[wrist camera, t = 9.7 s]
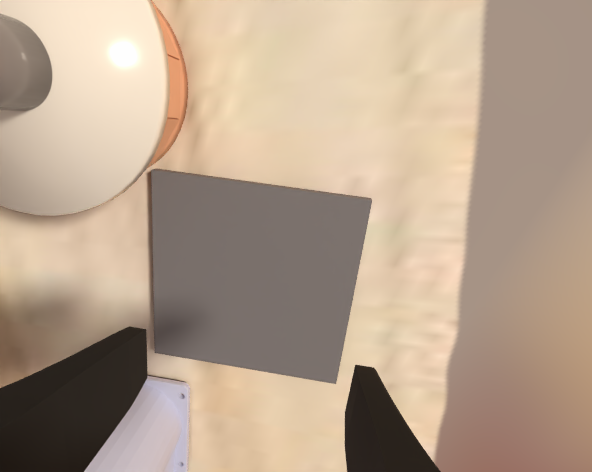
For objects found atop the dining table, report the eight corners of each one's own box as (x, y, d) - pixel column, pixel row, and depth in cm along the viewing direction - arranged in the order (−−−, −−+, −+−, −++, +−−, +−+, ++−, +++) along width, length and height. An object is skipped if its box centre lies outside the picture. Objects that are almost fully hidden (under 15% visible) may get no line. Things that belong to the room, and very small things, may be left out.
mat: (335, 377, 23) (335, 384, 23) (158, 347, 24) (154, 352, 24) (370, 198, 19) (372, 200, 19) (156, 168, 20) (151, 169, 20)
